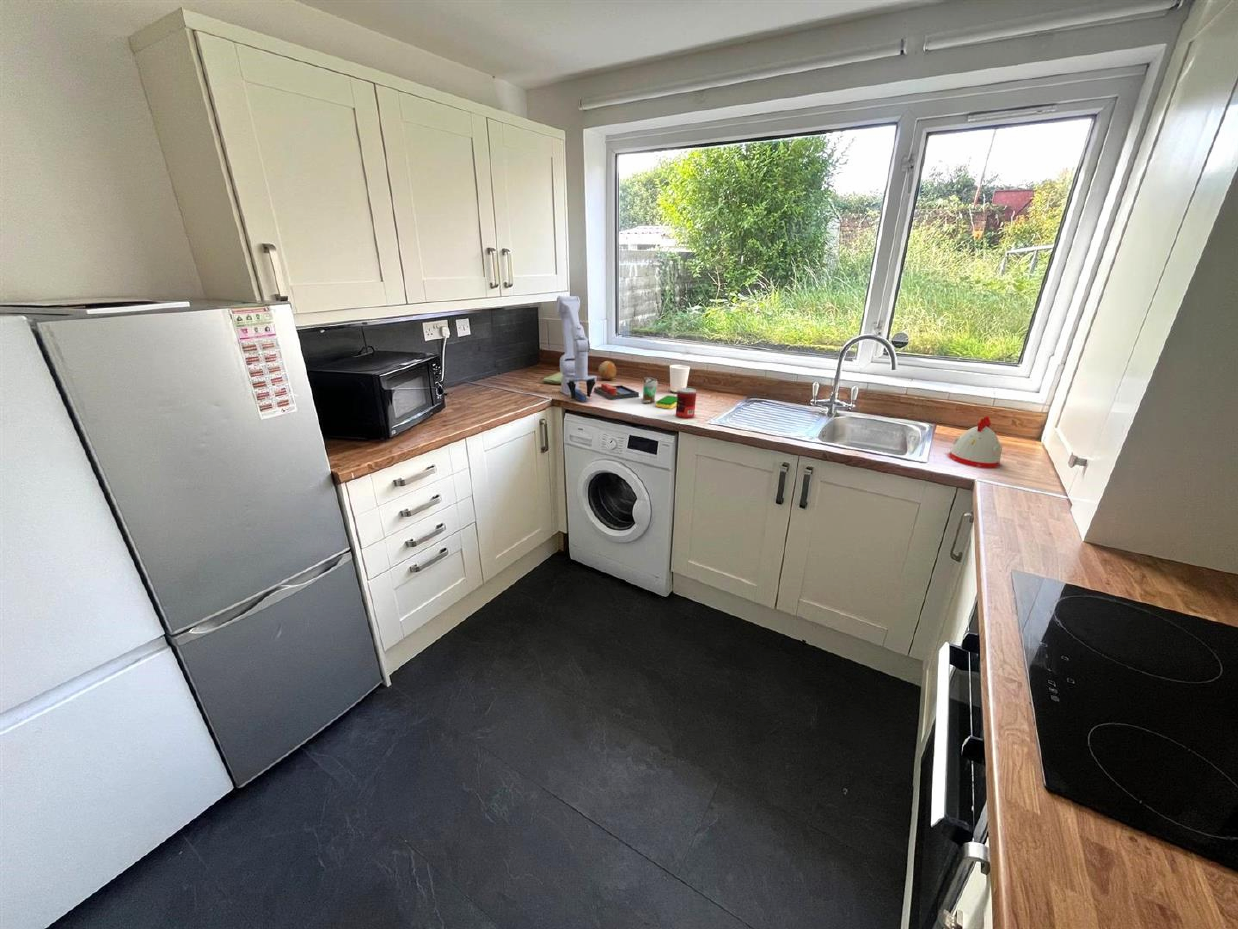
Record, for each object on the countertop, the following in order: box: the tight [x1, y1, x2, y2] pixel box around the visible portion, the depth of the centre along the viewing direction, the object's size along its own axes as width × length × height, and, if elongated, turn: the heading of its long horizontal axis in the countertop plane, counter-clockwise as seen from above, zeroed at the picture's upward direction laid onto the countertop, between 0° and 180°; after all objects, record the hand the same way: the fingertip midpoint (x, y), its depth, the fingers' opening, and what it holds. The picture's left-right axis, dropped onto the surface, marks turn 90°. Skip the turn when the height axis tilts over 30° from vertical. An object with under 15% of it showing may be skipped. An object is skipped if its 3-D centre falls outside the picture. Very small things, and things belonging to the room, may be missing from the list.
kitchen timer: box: [948, 416, 1003, 469], centre depth 164 cm, size 14×14×15 cm
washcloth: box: [542, 371, 563, 386], centre depth 260 cm, size 13×18×3 cm
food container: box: [642, 376, 659, 405], centre depth 226 cm, size 12×6×10 cm, turn 179°
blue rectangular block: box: [570, 388, 587, 403], centre depth 227 cm, size 4×11×3 cm, turn 28°
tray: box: [593, 384, 640, 401], centre depth 238 cm, size 15×17×2 cm
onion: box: [598, 360, 617, 381], centre depth 267 cm, size 10×10×10 cm
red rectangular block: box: [600, 383, 617, 395], centre depth 236 cm, size 4×11×3 cm, turn 28°
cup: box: [669, 364, 691, 394], centre depth 245 cm, size 10×10×13 cm
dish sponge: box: [655, 395, 677, 410], centre depth 223 cm, size 7×14×2 cm, turn 154°
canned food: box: [675, 387, 697, 419], centre depth 205 cm, size 8×8×11 cm
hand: (581, 397), depth 225 cm, fingers open, 7 cm apart
